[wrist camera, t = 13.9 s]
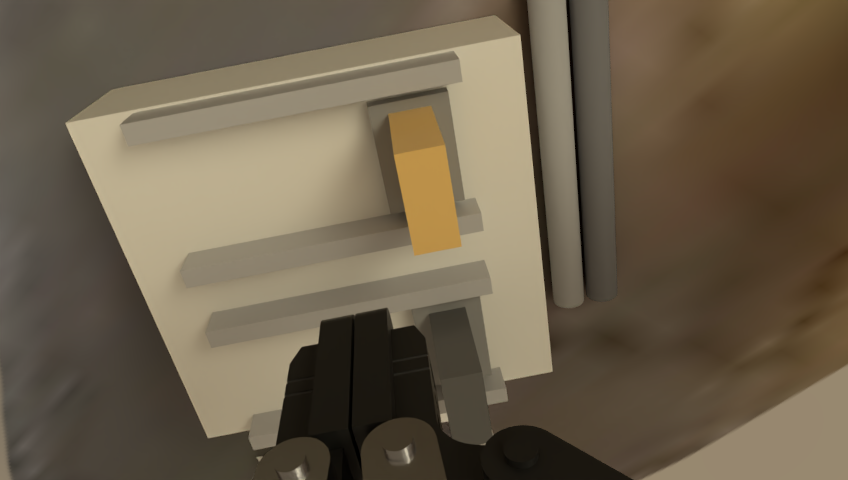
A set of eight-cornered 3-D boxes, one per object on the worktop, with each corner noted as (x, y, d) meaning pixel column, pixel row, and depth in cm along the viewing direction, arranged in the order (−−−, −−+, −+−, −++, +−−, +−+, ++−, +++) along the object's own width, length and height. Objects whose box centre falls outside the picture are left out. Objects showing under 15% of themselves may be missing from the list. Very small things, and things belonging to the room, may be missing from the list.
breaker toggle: (446, 87, 24) (466, 127, 19) (462, 194, 26) (484, 252, 21) (367, 102, 24) (368, 146, 19) (390, 208, 26) (395, 269, 21)
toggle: (477, 288, 28) (499, 359, 23) (489, 366, 30) (512, 445, 25) (410, 301, 28) (419, 375, 23) (426, 378, 30) (438, 459, 25)
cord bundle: (599, -30, 27) (612, -27, 26) (611, 282, 35) (622, 298, 33) (521, -15, 27) (530, -11, 26) (550, 294, 35) (558, 310, 33)
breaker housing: (494, 15, 28) (529, 42, 22) (528, 313, 35) (561, 392, 29) (112, 89, 28) (47, 135, 22) (227, 371, 35) (201, 462, 29)
